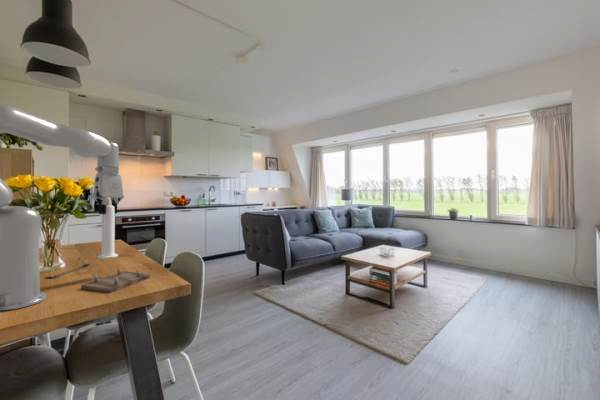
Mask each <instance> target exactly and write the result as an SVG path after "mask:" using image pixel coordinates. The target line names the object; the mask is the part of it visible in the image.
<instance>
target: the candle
mask: <svg viewBox="0 0 600 400" xmlns="http://www.w3.org/2000/svg"><path fill="white" fill-rule="evenodd" d="M111 204H112V203H111V200H110V198H107V199H106V202H105V204H104V205H106V214H101V254H99V255H97V258H98V259H100V260H101V259H102V260H106V259H107V260H108V259H115V258H117V257H118V256H119V254H118V253H115V214H116V213H115V207H114V206H113V205H111Z"/></svg>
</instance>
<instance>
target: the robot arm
mask: <svg viewBox="0 0 600 400" xmlns="http://www.w3.org/2000/svg"><path fill="white" fill-rule="evenodd" d="M0 134H9V135H12V136H15V137H18V138H23V139H25V140H29V141H32V142H36V143H39V144H42V145H45V146H51V147H58V148H59V147H61V148H71V149H72V150H73V152H74V153H75V154H76V155H77V156H80V157H82V158H95V159H96V158H97V160H96V161H97V162H96V163H97V166H96V167H95V171H97V172H96V174H95V177H94V181H93V182H94V183H93V192H92V194H91V195H90V198H91V199H92V200H94V201H95V202H96V205H98V215H102V214H106V205H105V204H106V201H107V199H106V198H109V199H110V204H111V205H113V206H114V207H115V214H117V213H118V205H119V203H120V202H121V200H123V199H124V197H125V196H124V195H123V194H124V191H123V190H124V188H123V181H122V180H123V179H122V177H121V174H119V173H120V171H119V169H120V167H119V166H120V165H119V163H120V162H119V161H120V160H119V159H120V157H119V155H120V154H119V152H120V151H119V150H120V149H119V147H120V146H119V145H118V144H117V143H116V142H111V141H109V140H108V139H106V138H105V137H104V136H101V135H99V134H96V133H93V132H91V131H88V130H85V129H82V128H77V127H74V126H71V125H66V124H63V123H62V124H61V123H57V122H55V121H51V120H49V119H46V118H43V117H40V116H38V115H35V114H33V113H31V112H28V111H26V110H22V109H20V108H18V107H15V106H12V105H9V104H8V105H7V104H0ZM13 200H14V192H13V190H12V189H11V188H10V186H9V185H8V184H7V183H6V182H5V181H4V180H3V179H2V178H1V177H0V311H9V310H17V309H22V308H26V307H30V306H33V305H36V304H39V303H41V302H43V301H44V300H46V299H47V293H45V292H41V281H40V280H41V279H40V278H41V277H40V271H41V270H40V250H39V248H40V233H41V230H42V223H43V222H42V216H41V215H40V213H38V211H36V210H35V209H33V208H30V207H27V206H24V205H23V206H21V205H20V206H19V205H10V204H11V203H12V201H13Z"/></svg>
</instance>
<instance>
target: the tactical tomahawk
mask: <svg viewBox="0 0 600 400" xmlns="http://www.w3.org/2000/svg"><path fill="white" fill-rule="evenodd" d="M88 266H90V263H86V264H85V263H84V264H83V265H82V266H80V267H79V266H77V267H75V268H72V269H69V270H67V271H64V272H61V273H58V274H55V275H54V276H46V277H45V280H47V279H48V280H57V279H58V278H61V276H64V275H66V274H70V273H72V272H76V271H78V270H81V269H84V268H86V267H88Z"/></svg>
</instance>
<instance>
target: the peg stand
mask: <svg viewBox="0 0 600 400" xmlns="http://www.w3.org/2000/svg"><path fill="white" fill-rule="evenodd" d="M116 272H117V273H114V274H111V275H108V276H105V277H102V278H99V276H98V274H95V275H93V280H92V281H89V282H85V283H83V284H81V285H80V286H81V290H88V291H97V292H101V293H102V292H103V293H109V294H110V293H113V292H117V291H119V290H121V289H123V288H126V287H129V286H131V285H134V284H137V283H139V282H142V281H144V280H147V279H150V278H151V274H150V273H144V272H141V270H140V269H137V270H136V272H133V271H122V268H120V267H118V268H117V270H116ZM149 277H150V278H149Z"/></svg>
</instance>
